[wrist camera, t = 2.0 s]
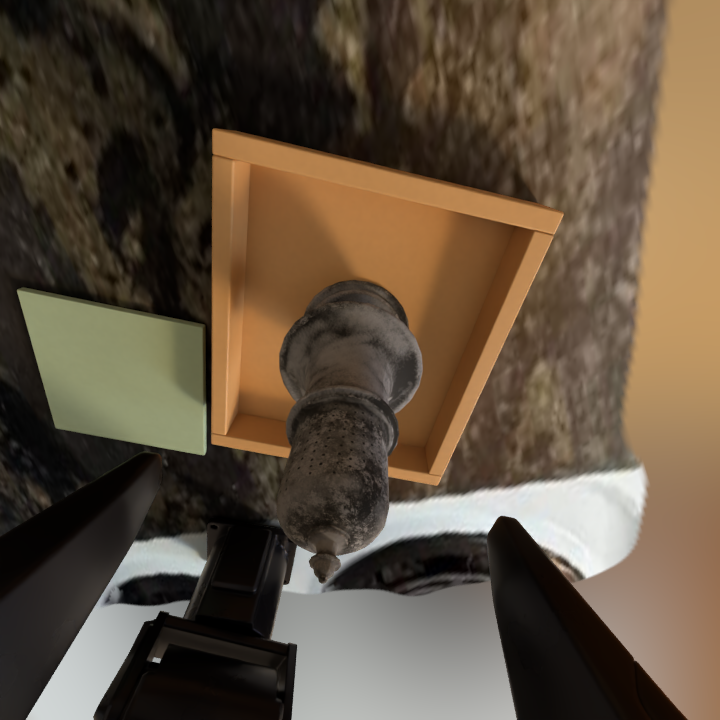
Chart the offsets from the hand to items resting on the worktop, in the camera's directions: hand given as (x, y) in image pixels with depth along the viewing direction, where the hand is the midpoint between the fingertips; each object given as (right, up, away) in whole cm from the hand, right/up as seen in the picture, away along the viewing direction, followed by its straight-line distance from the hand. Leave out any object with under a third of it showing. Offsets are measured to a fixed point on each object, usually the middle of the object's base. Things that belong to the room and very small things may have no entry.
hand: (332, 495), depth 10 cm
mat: (-12, +3, +11) cm, 17 cm away
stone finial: (+1, +5, +9) cm, 10 cm away
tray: (+1, +5, +9) cm, 10 cm away
